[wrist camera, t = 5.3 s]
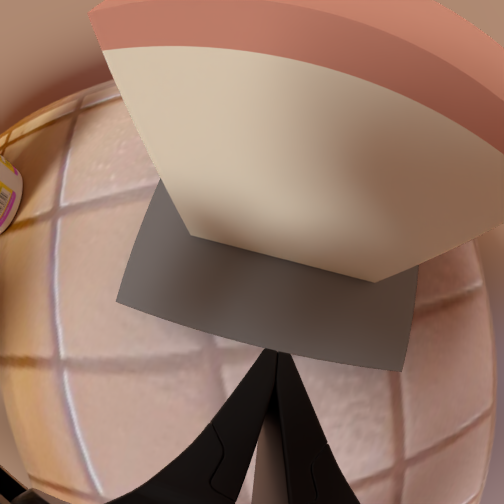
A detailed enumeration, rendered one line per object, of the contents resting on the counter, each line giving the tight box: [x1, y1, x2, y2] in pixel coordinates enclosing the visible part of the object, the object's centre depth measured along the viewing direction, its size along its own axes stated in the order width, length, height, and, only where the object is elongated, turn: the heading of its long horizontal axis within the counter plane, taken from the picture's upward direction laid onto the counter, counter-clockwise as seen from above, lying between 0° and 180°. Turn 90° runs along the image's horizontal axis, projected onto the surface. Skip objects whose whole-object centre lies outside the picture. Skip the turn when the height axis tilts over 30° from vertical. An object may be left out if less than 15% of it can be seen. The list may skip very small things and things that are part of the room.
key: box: [87, 0, 504, 283], centre depth 9 cm, size 5×10×12 cm, turn 75°
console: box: [116, 178, 419, 372], centre depth 16 cm, size 16×16×2 cm
